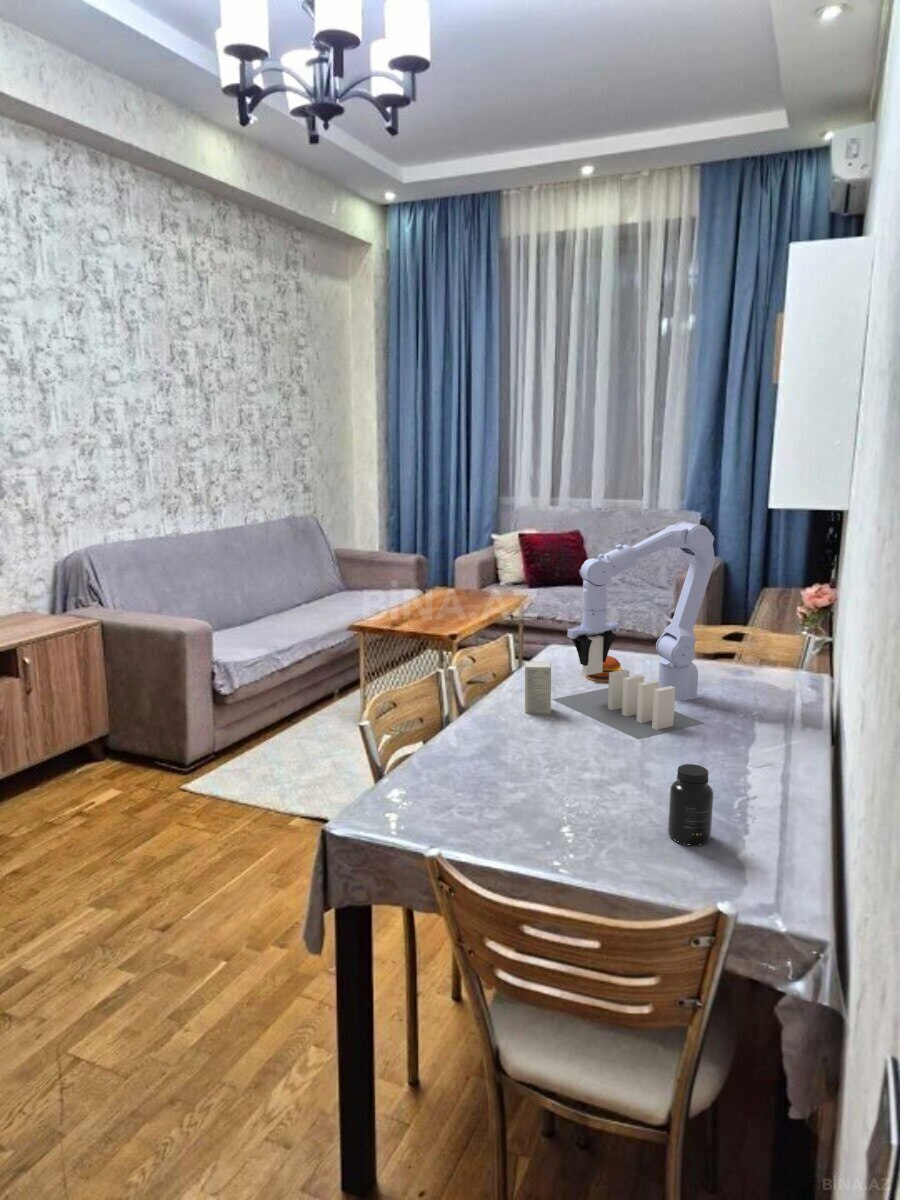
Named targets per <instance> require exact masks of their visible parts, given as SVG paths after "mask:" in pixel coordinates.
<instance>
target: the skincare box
mask: <svg viewBox="0 0 900 1200" xmlns="http://www.w3.org/2000/svg"><path fill="white" fill-rule="evenodd" d="M551 711H552V663H551V661H525V662H524V714H536V715H537V714H539V715H540V714H541V715H551V714H552V713H551Z"/></svg>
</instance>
